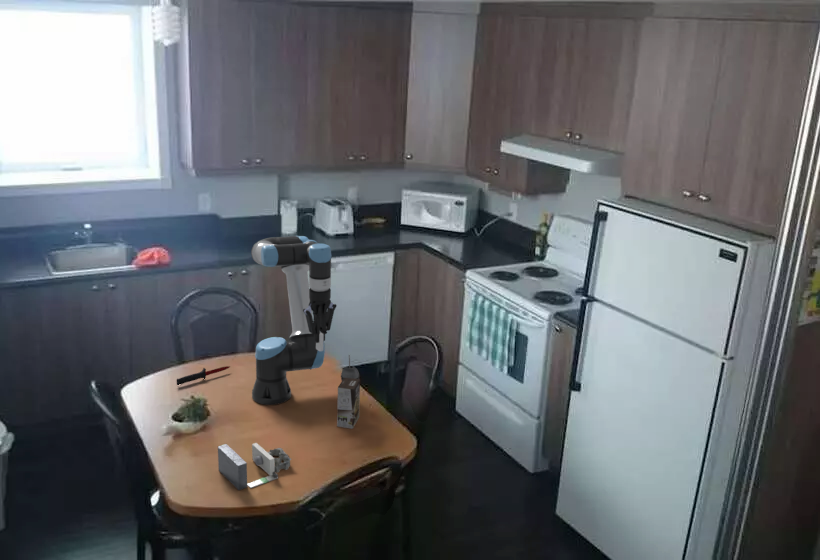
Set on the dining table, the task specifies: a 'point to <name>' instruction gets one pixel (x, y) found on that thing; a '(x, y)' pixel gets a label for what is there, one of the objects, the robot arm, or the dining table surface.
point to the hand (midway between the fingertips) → (319, 349)
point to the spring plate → (263, 459)
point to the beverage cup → (350, 372)
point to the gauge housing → (237, 469)
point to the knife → (199, 375)
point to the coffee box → (348, 402)
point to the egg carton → (280, 459)
